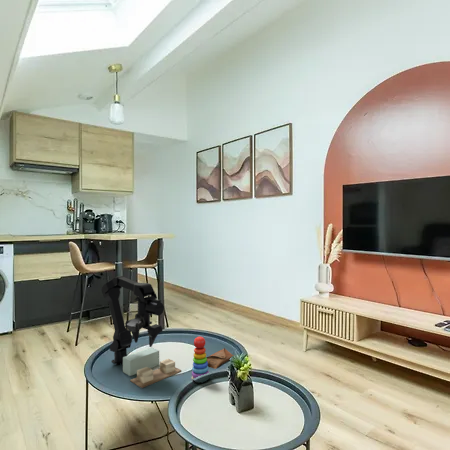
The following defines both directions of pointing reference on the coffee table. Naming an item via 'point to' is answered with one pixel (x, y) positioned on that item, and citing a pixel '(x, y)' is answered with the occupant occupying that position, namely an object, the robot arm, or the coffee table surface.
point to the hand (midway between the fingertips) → (143, 344)
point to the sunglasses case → (218, 358)
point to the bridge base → (155, 373)
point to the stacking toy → (199, 358)
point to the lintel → (140, 361)
